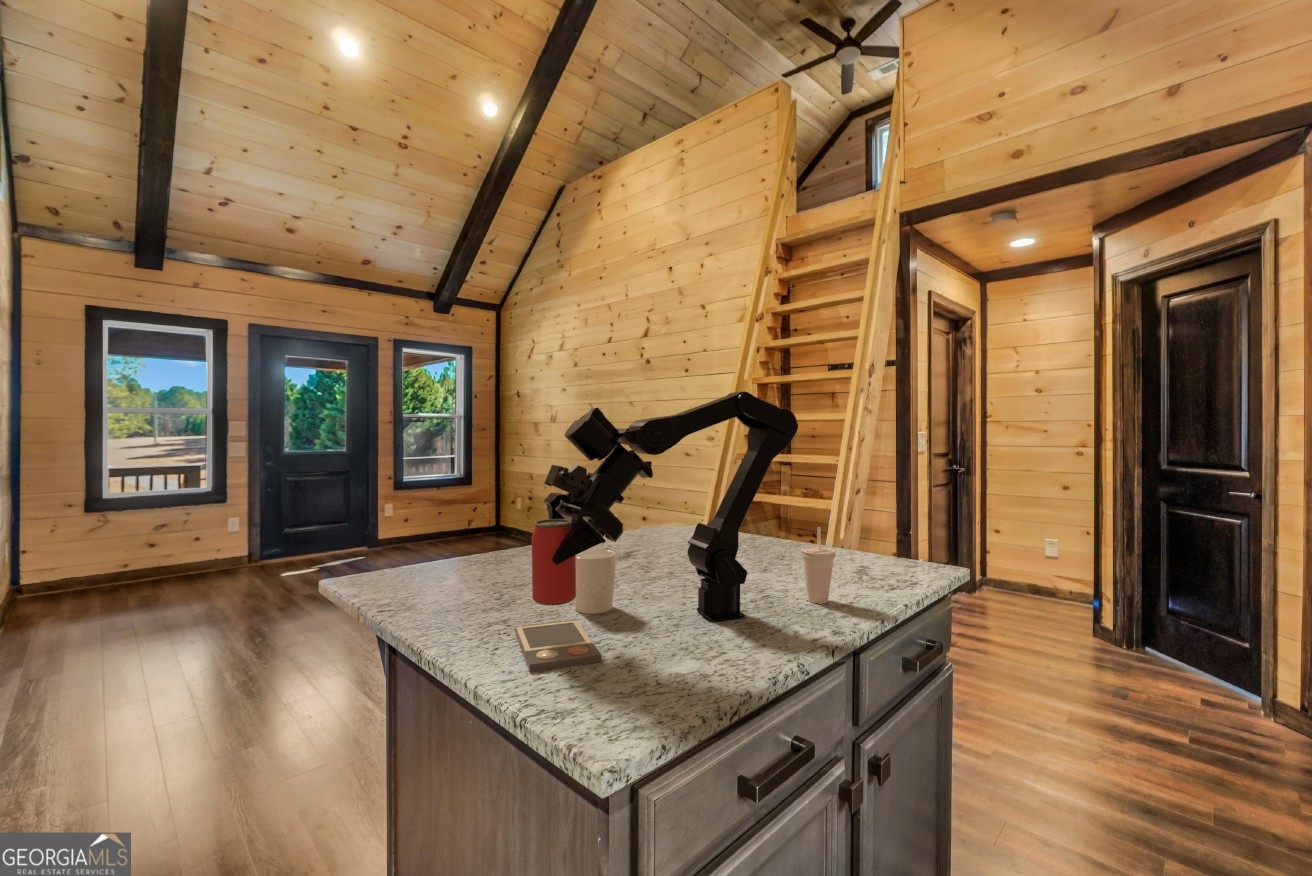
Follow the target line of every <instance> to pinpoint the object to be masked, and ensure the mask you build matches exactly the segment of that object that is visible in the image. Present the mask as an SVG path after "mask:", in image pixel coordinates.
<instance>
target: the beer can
mask: <svg viewBox="0 0 1312 876" xmlns="http://www.w3.org/2000/svg"><path fill="white" fill-rule="evenodd" d="M571 524H572V521H570V520H566V519H549V518H548V519H541V520H538V521H535V522H534V525H535V526H534V528H533V532H532V535H531V575H532V576H531V580H532V581H531V583H532V584H531V586H532V587H531V588H532V589H531V590H532V591H531V593H532V597H531V598H532V600H533V601H534V602H535V603H537V604H539V605H541V606H548V607H549V606H551V607H552V606H561V605H562V606H563V605H566V604H568V603H571V602H572V601H573V600H575V597H576V555H575V556H573V557H571V558H569V559H567V560H565V561H563V562H561V563H559V564H555V563H554V562H553V561H552V558H553V556H554V554H555V553H556V551H557V549H558V548H559V546H560V545H561V543H562V542H563V540H564V539H565V537H566V536H567V534H568V533H569V531H570V530H571V528H572V525H571Z"/></svg>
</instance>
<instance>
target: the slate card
mask: <svg viewBox="0 0 1312 876" xmlns="http://www.w3.org/2000/svg"><path fill="white" fill-rule="evenodd" d="M514 633H515V636H516V639H517V642H518V644H519V648H520V649H521V653H522V655H523V658H524V660H525V664H526V665H527V666H526V667H527V669H528V672H529V673H532V672H538V671H539V672H540V671H546V670H552V669H553V670H555V669H559V668H561V669H562V668H567V667H574V666H575V667H576V666H582V665H583V666H584V665H589V664H596V663H602V657H603V656H602V653H601V652H600V651H599V649H598V648H597V646H596V644H594V642H593V641H592V639H591V638H590V636H589V635H588V634H587V632H586V631H585V630H584V628H583V627H582V625H581V623H580V622H579V621H578V620H577V619H569V620H562V621H560V620H559V621H553V622H552V621H551V622H545V623H534V624H527V625H526V624H525V625H518V626H514Z"/></svg>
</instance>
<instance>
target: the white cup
mask: <svg viewBox="0 0 1312 876" xmlns="http://www.w3.org/2000/svg"><path fill="white" fill-rule="evenodd" d="M616 554H617V552H615V551H612V550H608V549H600V548H599V549H598V548H597V549H596V548H595V549H591V548H590V549H587V550H585V551H583V552H581V553H579V554H577V555H576V597H575V598H574V605H575V610H576V611H577V612H578V613H582V614H586V615H587V614H588V615H589V614H590V615H596V614H597V615H598V614H604V613H607V612H610V611H612V609H613V605H614V604H613V603H614V593H615V582H616V581H615V579H616V560H617V559H616V556H617V555H616Z"/></svg>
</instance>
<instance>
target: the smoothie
mask: <svg viewBox="0 0 1312 876" xmlns="http://www.w3.org/2000/svg"><path fill="white" fill-rule="evenodd" d="M821 533H822V531H821V526H817V546H807V547H802V548H801V550H800V556H801V557H802V563H803V571H804V579H805V587H806V596H807V601H808V602H809V601H810V602H809V603H811V602H812V603H811V604H815V603H818V604H817V605H823V604H822V603H825V604H827V603H828V602H829V595H830V588H831V581H832V574H833V566H834V558H836V557H837V556H836V551H835V550H834V549H833V548H828V547H822V545H821V544H822V543H821V538H822V535H821ZM826 602H827V603H826Z"/></svg>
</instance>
